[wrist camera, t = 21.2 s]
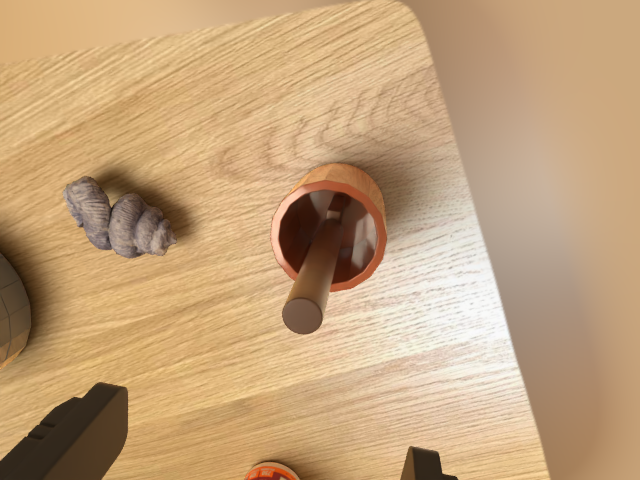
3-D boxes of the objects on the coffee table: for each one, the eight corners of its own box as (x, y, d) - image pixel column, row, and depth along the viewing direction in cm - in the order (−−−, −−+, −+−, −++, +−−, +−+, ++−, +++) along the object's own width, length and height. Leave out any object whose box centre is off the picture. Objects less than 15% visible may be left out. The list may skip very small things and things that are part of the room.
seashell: (86, 196, 41) (192, 230, 41) (52, 244, 38) (166, 281, 38) (69, 157, 36) (188, 195, 36) (29, 207, 33) (158, 249, 34)
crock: (298, 155, 36) (277, 172, 29) (392, 171, 36) (396, 191, 28) (286, 244, 39) (265, 281, 31) (375, 260, 38) (374, 300, 31)
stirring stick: (328, 193, 36) (285, 281, 19) (350, 197, 36) (327, 289, 19) (323, 229, 37) (278, 342, 20) (344, 232, 37) (317, 350, 20)
